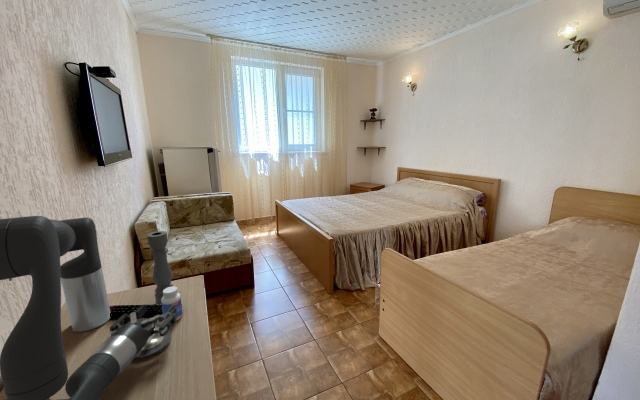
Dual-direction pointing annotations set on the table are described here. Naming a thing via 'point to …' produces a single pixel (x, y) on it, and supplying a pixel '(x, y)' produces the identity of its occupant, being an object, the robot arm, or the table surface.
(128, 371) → the table surface
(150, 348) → the small round plate
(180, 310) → the pill bottle
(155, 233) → the candle holder
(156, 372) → the table surface
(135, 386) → the table surface
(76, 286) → the robot arm
